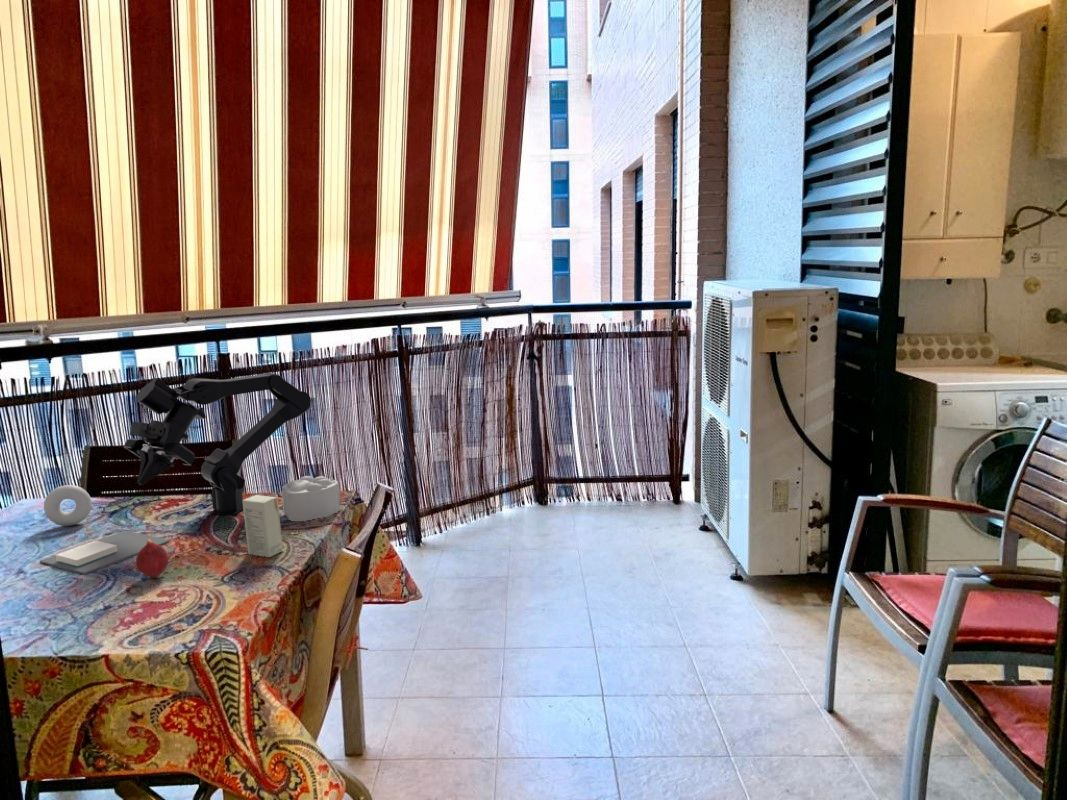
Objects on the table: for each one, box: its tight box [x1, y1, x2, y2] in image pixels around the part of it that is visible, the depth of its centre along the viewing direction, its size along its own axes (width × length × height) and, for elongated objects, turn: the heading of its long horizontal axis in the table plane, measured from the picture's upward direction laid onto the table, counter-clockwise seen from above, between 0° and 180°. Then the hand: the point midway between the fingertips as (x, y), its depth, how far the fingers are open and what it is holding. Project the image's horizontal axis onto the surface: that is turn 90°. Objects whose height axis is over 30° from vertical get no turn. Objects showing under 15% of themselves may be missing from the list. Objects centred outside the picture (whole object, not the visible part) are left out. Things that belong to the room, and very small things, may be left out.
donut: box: [43, 484, 93, 527], centre depth 189 cm, size 10×4×10 cm, turn 117°
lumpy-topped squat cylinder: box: [281, 475, 341, 522], centre depth 195 cm, size 10×13×9 cm
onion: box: [135, 539, 170, 579], centre depth 157 cm, size 6×6×8 cm
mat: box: [39, 530, 170, 575], centre depth 172 cm, size 20×15×1 cm
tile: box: [55, 540, 117, 567], centre depth 168 cm, size 2×7×9 cm
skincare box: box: [242, 494, 284, 558], centre depth 169 cm, size 6×4×12 cm
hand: (139, 484), depth 179 cm, fingers closed
